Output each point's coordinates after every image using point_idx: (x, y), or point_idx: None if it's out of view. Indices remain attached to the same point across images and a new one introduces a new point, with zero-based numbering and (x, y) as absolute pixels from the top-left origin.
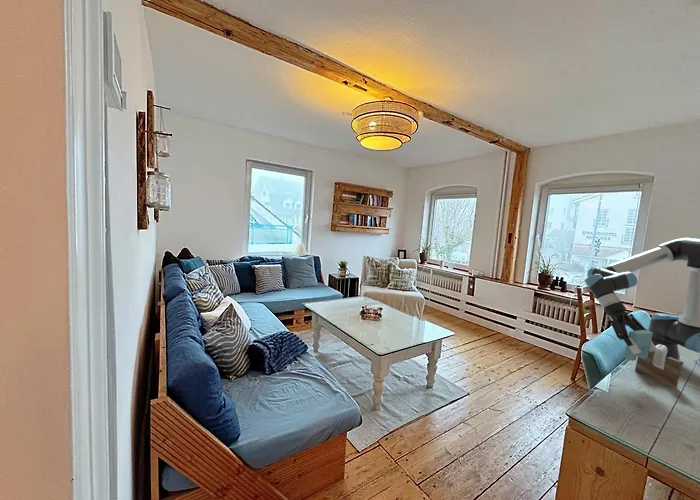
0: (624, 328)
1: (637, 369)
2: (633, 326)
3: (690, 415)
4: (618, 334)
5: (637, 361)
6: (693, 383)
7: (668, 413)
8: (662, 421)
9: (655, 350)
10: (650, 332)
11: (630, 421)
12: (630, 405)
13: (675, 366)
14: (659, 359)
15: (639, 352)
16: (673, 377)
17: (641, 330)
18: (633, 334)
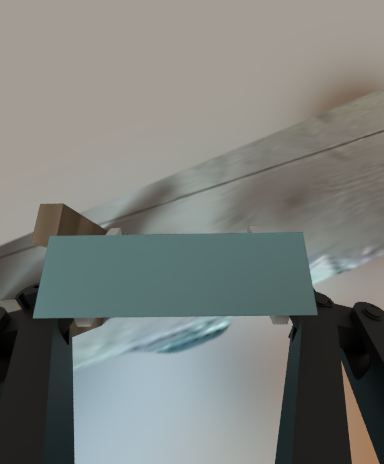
0: (333, 394)
1: (98, 320)
2: (59, 441)
3: (214, 162)
4: (360, 362)
5: (83, 330)
6: (20, 238)
7: (256, 173)
8: (300, 161)
9: (121, 234)
10: (68, 245)
11: (373, 171)
12: (317, 205)
13: (75, 219)
14: (1, 305)
15: (258, 229)
16: (97, 229)
17: (100, 311)
18: (300, 269)
